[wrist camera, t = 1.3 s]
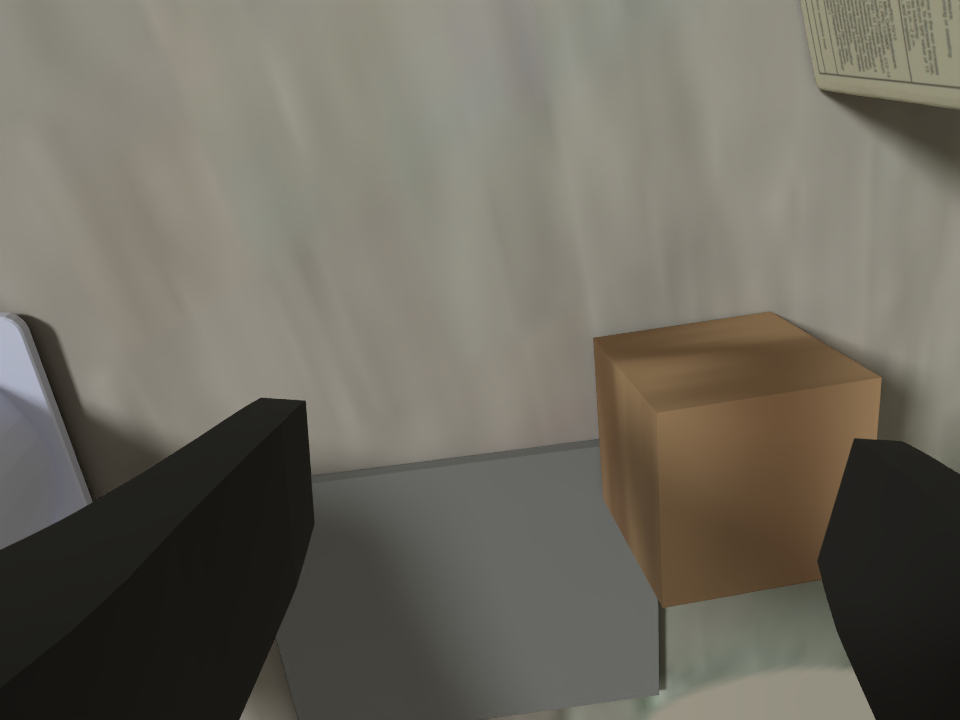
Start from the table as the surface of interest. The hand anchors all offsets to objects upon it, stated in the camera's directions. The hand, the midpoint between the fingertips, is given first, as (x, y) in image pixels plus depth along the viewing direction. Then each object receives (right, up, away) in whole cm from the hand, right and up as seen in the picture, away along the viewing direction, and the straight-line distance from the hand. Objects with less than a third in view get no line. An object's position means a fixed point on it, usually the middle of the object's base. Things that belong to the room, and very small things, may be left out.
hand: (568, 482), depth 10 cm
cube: (+5, 0, +12) cm, 13 cm away
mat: (-2, -6, +14) cm, 15 cm away
